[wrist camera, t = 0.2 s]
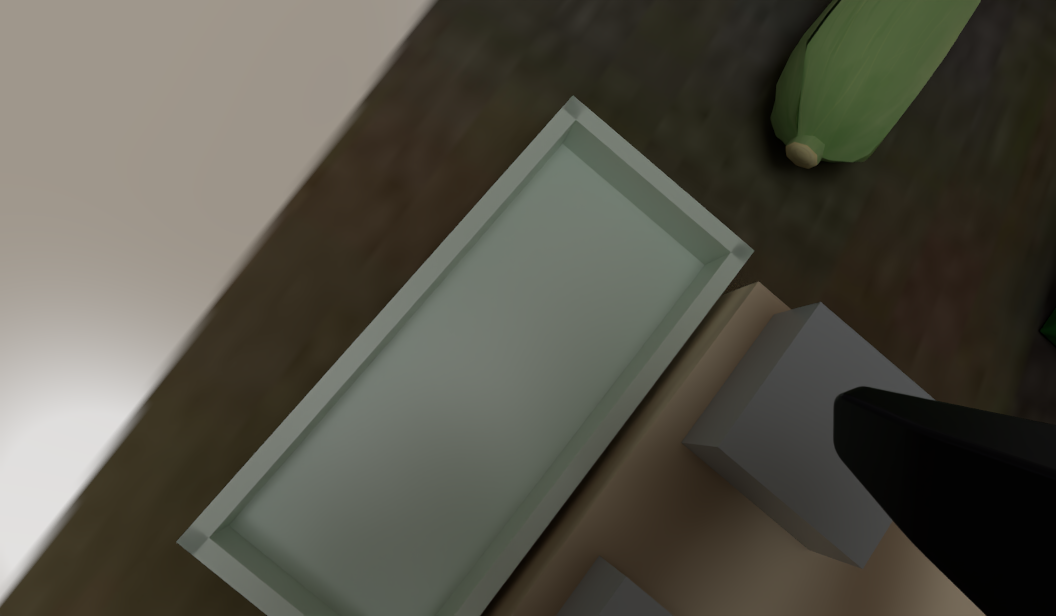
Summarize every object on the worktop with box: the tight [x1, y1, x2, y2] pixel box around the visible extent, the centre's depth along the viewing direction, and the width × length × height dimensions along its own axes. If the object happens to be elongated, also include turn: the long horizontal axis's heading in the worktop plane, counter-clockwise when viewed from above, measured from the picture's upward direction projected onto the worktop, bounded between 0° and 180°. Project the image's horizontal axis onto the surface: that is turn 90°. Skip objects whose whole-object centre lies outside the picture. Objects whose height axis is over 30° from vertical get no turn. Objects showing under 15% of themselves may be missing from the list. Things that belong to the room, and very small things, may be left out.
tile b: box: [681, 302, 936, 569], centre depth 20 cm, size 5×5×2 cm
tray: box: [177, 96, 754, 616], centre depth 22 cm, size 8×18×2 cm, turn 141°
